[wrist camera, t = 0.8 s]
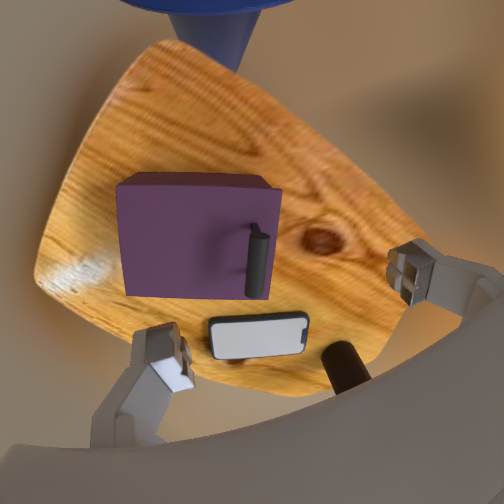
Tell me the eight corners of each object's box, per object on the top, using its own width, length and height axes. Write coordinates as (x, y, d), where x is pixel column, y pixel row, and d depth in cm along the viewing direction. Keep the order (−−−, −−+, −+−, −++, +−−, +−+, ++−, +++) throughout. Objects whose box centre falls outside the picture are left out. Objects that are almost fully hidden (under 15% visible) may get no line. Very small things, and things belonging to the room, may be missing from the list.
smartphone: (212, 354, 46) (302, 348, 48) (212, 361, 45) (304, 354, 46) (207, 315, 43) (308, 308, 44) (207, 321, 41) (311, 314, 43)
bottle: (334, 368, 52) (369, 448, 34) (313, 358, 49) (348, 446, 31) (359, 347, 50) (403, 426, 32) (340, 335, 48) (386, 422, 30)
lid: (280, 188, 28) (295, 202, 22) (267, 296, 33) (276, 326, 28) (118, 183, 25) (96, 197, 20) (127, 292, 30) (115, 321, 25)
